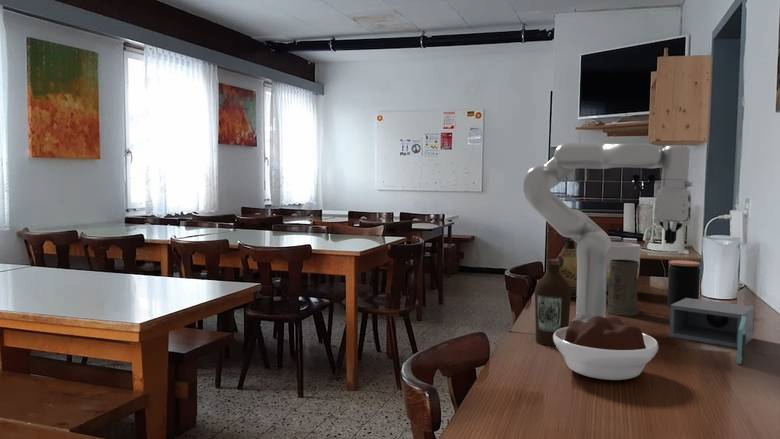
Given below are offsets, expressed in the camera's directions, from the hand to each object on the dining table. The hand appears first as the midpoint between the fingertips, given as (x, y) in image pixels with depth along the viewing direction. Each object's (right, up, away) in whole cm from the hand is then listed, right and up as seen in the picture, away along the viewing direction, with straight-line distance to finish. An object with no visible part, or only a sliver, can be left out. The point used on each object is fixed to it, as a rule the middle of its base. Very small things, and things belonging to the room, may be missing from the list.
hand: (669, 243), depth 191 cm
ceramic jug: (-13, -25, +66) cm, 72 cm away
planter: (+10, -25, +74) cm, 78 cm away
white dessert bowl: (-35, -32, -38) cm, 60 cm away
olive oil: (-40, -30, -8) cm, 50 cm away
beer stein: (-1, -27, +35) cm, 44 cm away
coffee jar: (+24, -27, +42) cm, 56 cm away
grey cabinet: (+12, -30, -1) cm, 32 cm away
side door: (+10, -31, -22) cm, 39 cm away
